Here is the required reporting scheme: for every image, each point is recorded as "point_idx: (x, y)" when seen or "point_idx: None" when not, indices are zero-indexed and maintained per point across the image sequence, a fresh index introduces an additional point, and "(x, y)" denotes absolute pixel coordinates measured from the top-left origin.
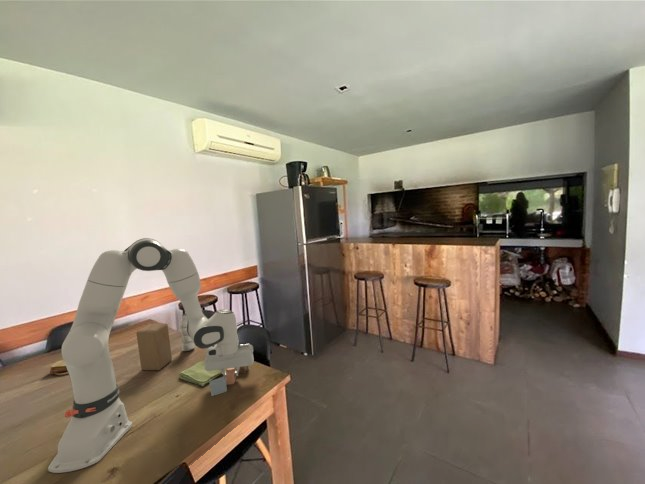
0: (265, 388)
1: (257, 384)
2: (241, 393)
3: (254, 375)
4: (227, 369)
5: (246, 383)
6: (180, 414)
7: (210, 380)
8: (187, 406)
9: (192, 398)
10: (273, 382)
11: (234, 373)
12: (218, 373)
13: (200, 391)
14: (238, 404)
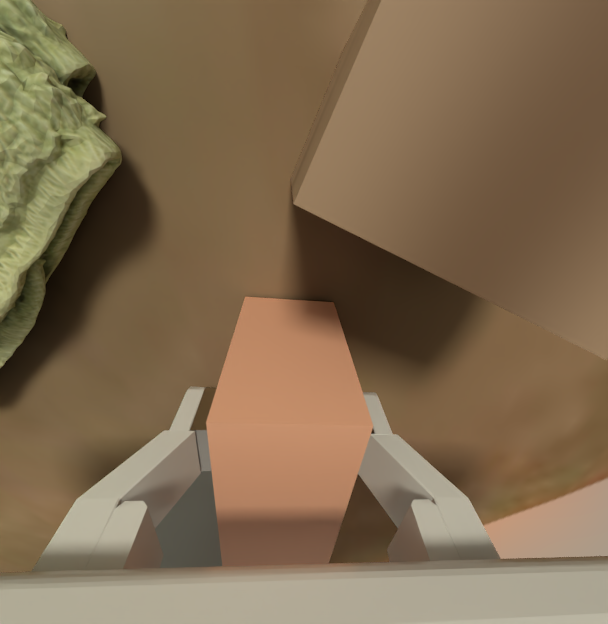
0: (522, 495)
1: (493, 459)
2: (368, 504)
3: (526, 350)
4: (222, 504)
5: (419, 433)
6: (34, 562)
7: (8, 358)
8: (29, 532)
9: (3, 488)
10: (602, 463)
11: None
12: (37, 257)
13: (13, 438)
14: (345, 553)
